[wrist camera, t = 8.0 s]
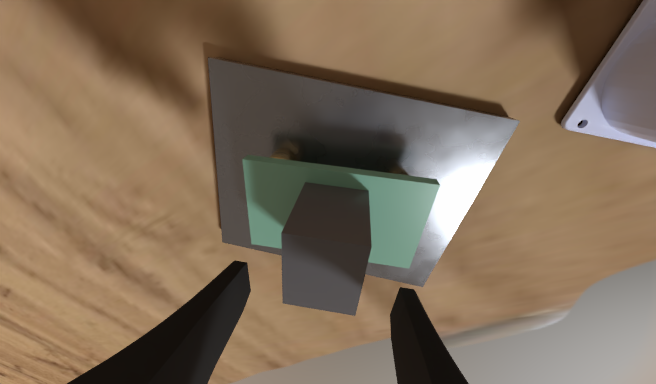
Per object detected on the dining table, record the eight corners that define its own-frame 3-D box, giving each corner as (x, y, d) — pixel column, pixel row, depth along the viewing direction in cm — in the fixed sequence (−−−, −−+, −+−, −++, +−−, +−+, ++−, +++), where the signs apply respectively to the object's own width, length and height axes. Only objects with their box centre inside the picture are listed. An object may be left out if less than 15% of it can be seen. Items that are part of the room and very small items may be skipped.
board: (436, 179, 14) (476, 243, 9) (407, 260, 18) (425, 339, 13) (247, 154, 15) (190, 201, 10) (255, 237, 19) (216, 302, 14)
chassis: (509, 117, 15) (547, 131, 12) (419, 276, 23) (429, 311, 20) (218, 57, 16) (181, 57, 13) (228, 234, 24) (207, 261, 21)
